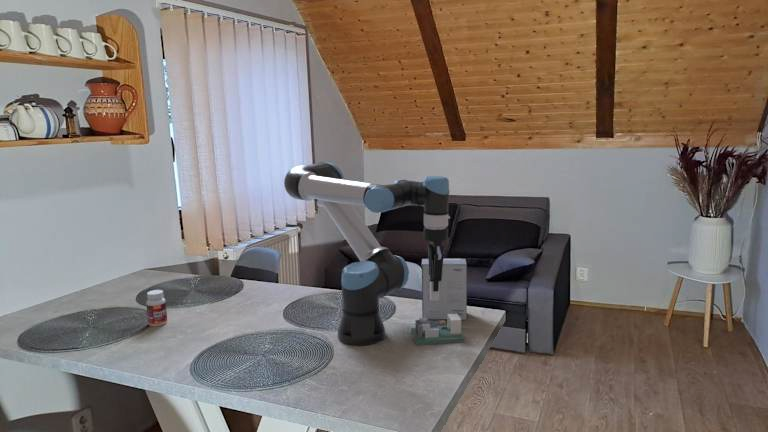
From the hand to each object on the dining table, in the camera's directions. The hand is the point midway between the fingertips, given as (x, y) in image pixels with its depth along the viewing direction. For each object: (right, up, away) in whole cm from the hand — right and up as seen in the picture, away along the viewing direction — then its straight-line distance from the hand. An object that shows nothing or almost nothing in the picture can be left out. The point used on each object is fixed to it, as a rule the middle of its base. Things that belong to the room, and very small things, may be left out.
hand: (434, 299), depth 172 cm
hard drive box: (+5, -9, +19) cm, 22 cm away
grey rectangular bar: (-1, -9, +1) cm, 9 cm away
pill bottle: (-94, -11, +17) cm, 96 cm away
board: (+1, -12, +2) cm, 12 cm away
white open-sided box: (+6, -10, +2) cm, 13 cm away
